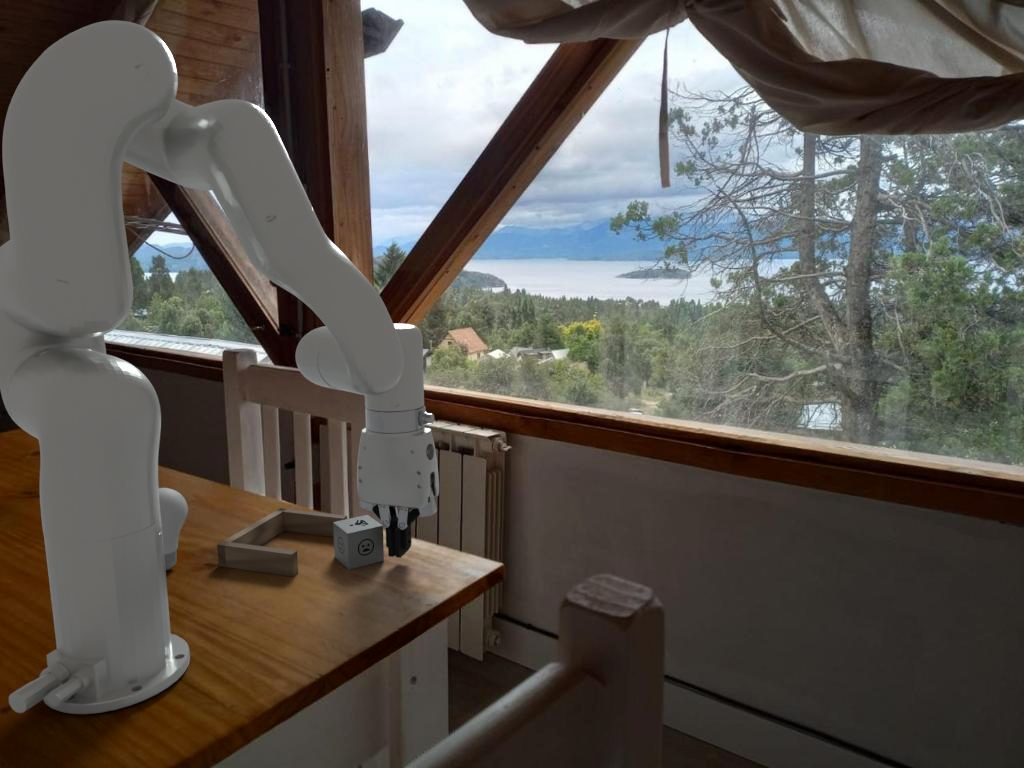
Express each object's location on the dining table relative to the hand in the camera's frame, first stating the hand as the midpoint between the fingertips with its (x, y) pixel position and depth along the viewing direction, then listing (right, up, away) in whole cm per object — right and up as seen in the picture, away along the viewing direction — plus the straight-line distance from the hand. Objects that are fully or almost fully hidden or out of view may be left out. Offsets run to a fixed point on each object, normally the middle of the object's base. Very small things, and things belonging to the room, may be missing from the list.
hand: (399, 552), depth 94 cm
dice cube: (-6, -1, +2) cm, 6 cm away
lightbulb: (-30, -2, -2) cm, 30 cm away
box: (-16, -1, +4) cm, 16 cm away
